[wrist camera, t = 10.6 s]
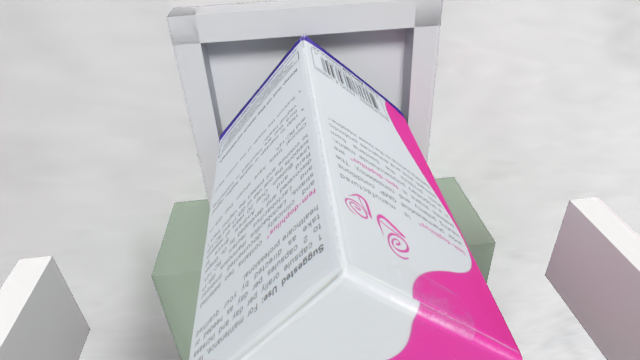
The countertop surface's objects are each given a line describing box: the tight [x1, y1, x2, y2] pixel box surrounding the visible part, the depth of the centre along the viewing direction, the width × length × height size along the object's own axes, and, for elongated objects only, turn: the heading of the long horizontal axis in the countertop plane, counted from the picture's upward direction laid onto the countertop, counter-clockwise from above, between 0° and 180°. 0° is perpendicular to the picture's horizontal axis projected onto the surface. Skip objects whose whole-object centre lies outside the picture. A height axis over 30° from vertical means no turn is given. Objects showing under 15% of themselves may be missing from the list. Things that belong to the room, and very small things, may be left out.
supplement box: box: [189, 34, 523, 360], centre depth 14 cm, size 6×6×12 cm
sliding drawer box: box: [152, 0, 496, 360], centre depth 20 cm, size 14×18×6 cm
